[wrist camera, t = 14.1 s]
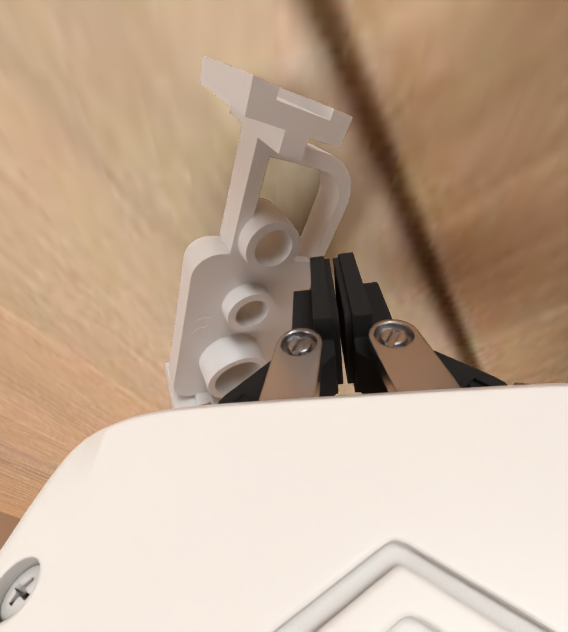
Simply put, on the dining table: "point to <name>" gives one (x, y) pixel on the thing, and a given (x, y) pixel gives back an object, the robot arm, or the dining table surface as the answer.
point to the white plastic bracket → (253, 240)
